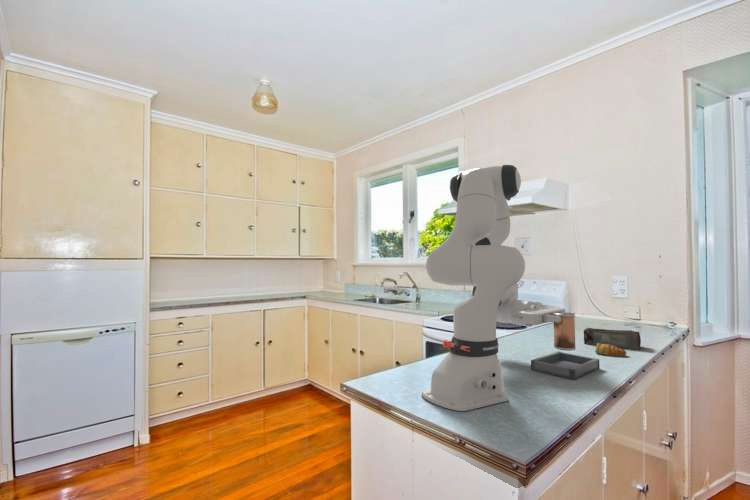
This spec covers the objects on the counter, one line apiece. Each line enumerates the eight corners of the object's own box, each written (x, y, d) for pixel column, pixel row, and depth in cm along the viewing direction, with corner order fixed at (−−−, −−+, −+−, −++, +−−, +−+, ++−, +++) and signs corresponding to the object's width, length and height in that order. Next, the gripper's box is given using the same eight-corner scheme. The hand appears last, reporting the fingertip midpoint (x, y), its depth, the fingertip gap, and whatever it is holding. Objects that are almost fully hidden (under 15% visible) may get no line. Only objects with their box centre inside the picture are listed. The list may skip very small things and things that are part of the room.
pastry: (627, 355, 132) (626, 344, 132) (625, 359, 127) (625, 348, 127) (597, 351, 138) (597, 341, 138) (594, 354, 133) (594, 344, 133)
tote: (573, 380, 104) (573, 369, 104) (531, 369, 114) (530, 360, 114) (599, 368, 115) (599, 359, 115) (558, 360, 125) (558, 351, 125)
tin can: (570, 351, 111) (569, 315, 111) (550, 347, 115) (549, 313, 116) (578, 348, 114) (577, 313, 114) (559, 344, 119) (558, 311, 119)
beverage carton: (585, 340, 156) (585, 325, 156) (640, 347, 144) (640, 330, 144) (583, 344, 149) (583, 328, 149) (640, 351, 138) (640, 333, 138)
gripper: (508, 306, 119) (550, 311, 108) (540, 302, 131) (580, 305, 120) (509, 325, 119) (550, 332, 108) (540, 319, 131) (581, 324, 120)
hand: (566, 318), depth 114 cm, fingers closed on tin can, 6 cm apart
